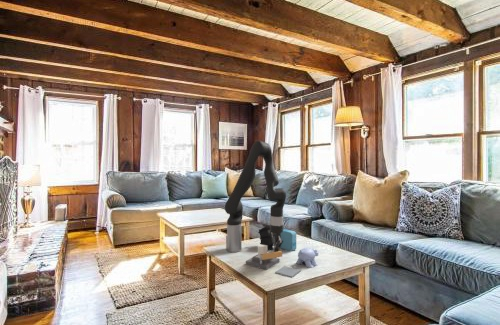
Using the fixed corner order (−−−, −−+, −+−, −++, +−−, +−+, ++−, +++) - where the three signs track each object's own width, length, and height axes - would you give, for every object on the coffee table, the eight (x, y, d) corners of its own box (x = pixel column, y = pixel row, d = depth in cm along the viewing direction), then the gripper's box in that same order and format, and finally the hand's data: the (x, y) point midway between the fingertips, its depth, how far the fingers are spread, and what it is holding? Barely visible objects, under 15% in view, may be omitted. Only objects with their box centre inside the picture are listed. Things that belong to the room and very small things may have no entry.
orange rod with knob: (259, 259, 160) (258, 254, 160) (280, 255, 165) (280, 250, 165) (260, 260, 158) (260, 255, 158) (282, 256, 164) (282, 251, 164)
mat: (275, 273, 152) (275, 271, 152) (284, 267, 160) (284, 265, 160) (292, 277, 146) (292, 276, 146) (301, 271, 154) (301, 269, 154)
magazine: (271, 249, 185) (265, 226, 190) (261, 252, 196) (256, 230, 201) (276, 248, 187) (270, 225, 192) (266, 252, 198) (261, 230, 203)
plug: (255, 260, 165) (255, 246, 165) (261, 257, 170) (261, 243, 170) (264, 262, 162) (264, 248, 162) (269, 259, 167) (269, 245, 167)
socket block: (245, 264, 165) (245, 257, 164) (259, 257, 176) (259, 250, 176) (266, 269, 156) (266, 262, 156) (279, 262, 168) (279, 255, 168)
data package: (296, 249, 189) (296, 231, 189) (292, 251, 186) (292, 232, 186) (282, 245, 198) (282, 228, 197) (278, 247, 195) (277, 229, 194)
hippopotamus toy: (324, 262, 166) (324, 246, 166) (307, 269, 156) (307, 252, 156) (309, 257, 174) (309, 242, 174) (292, 264, 165) (292, 247, 164)
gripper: (266, 221, 170) (266, 250, 171) (274, 227, 157) (274, 258, 158) (278, 220, 172) (278, 248, 173) (287, 225, 160) (287, 256, 161)
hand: (276, 253), depth 166 cm, fingers closed
